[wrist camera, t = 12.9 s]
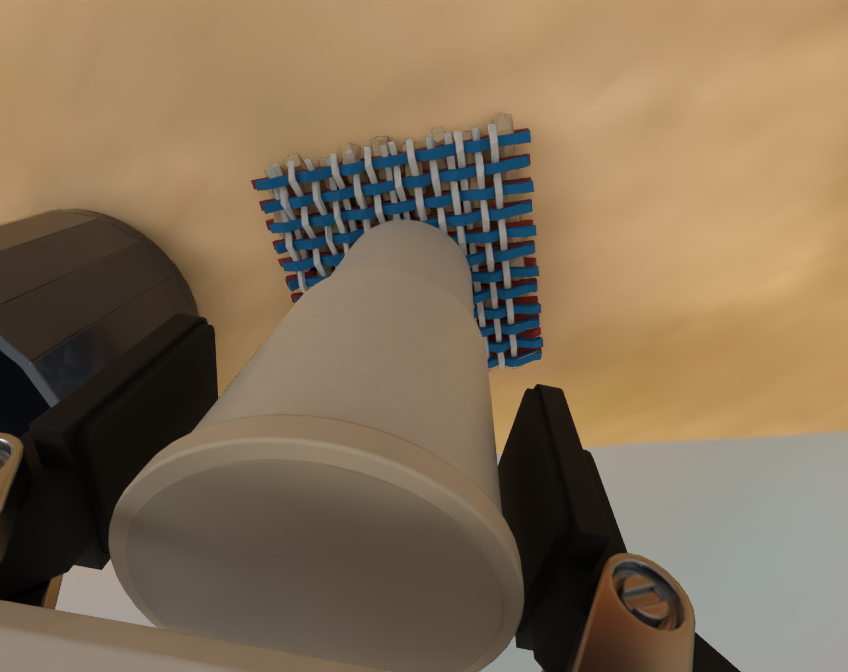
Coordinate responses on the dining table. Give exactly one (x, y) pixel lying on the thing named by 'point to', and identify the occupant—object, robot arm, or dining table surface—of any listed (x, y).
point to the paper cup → (341, 480)
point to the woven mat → (422, 220)
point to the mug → (74, 305)
